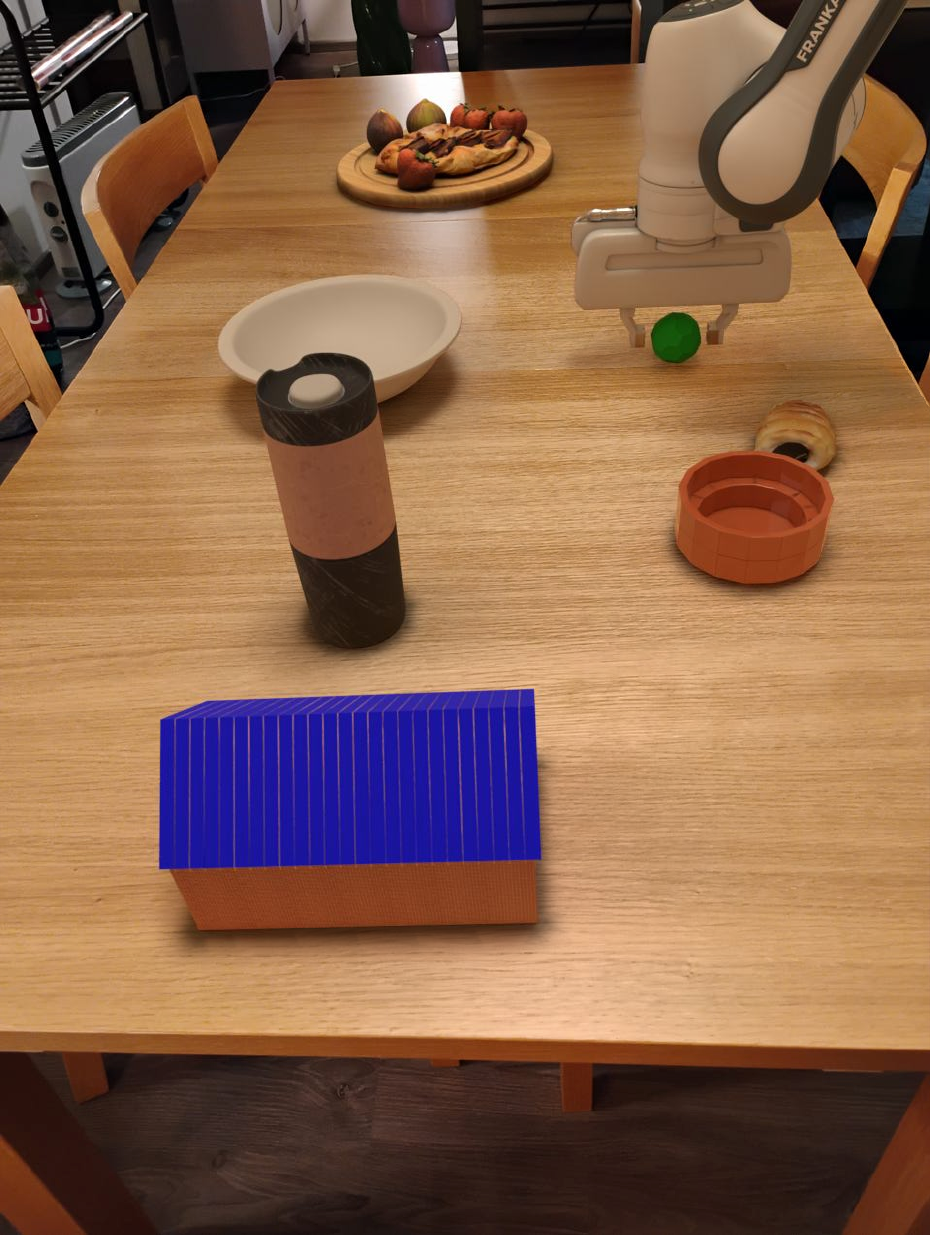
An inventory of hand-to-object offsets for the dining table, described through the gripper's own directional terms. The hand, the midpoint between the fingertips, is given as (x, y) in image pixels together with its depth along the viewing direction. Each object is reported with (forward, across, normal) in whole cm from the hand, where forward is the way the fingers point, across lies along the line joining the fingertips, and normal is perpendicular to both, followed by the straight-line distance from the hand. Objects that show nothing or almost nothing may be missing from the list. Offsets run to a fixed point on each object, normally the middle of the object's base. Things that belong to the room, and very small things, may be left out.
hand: (675, 343), depth 100 cm
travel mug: (+2, -27, -38) cm, 47 cm away
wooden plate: (+2, -28, +59) cm, 65 cm away
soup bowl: (+2, -33, -3) cm, 33 cm away
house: (+2, -23, -58) cm, 63 cm away
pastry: (+2, +9, -17) cm, 19 cm away
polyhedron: (+2, 0, 0) cm, 2 cm away
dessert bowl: (+2, +3, -30) cm, 30 cm away
